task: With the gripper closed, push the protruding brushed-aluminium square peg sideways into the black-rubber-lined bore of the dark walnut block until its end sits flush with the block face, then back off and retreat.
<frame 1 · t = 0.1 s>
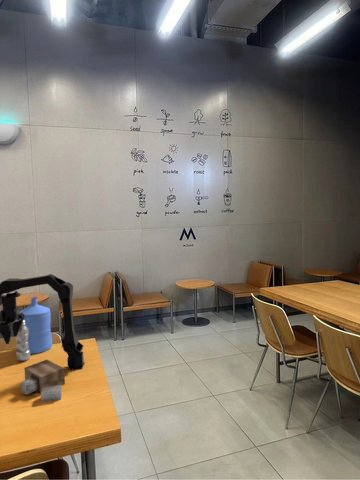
hand: (11, 340, 152), 15 cm above the table, fingers open, 9 cm apart
peg: (32, 384, 134), point 3 cm above the table, slide at 5.0 cm
plastic bottle: (23, 360, 165), on the table
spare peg: (51, 398, 129), on the table
socket block: (45, 383, 140), on the table
water jug: (36, 348, 179), on the table
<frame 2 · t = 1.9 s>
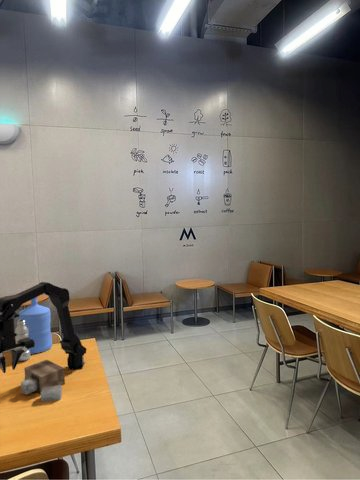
hand: (9, 371, 126), 12 cm above the table, fingers open, 3 cm apart
nothing on the table moved.
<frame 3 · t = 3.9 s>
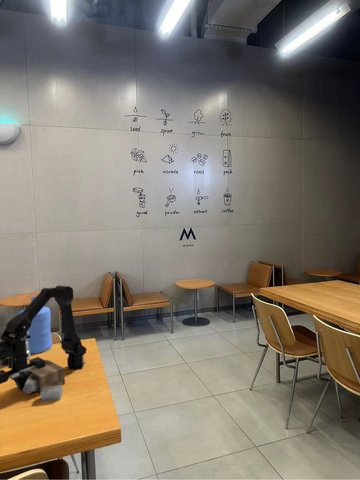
hand: (20, 390, 130), 2 cm above the table, fingers closed
peg: (33, 384, 134), point 3 cm above the table, slide at 4.4 cm, touching gripper
everything else where it was.
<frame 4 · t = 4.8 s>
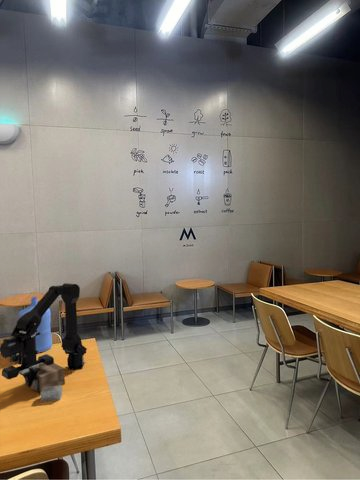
hand: (29, 386, 133), 3 cm above the table, fingers closed
peg: (41, 380, 137), point 3 cm above the table, slide at 1.0 cm
everything else where it was.
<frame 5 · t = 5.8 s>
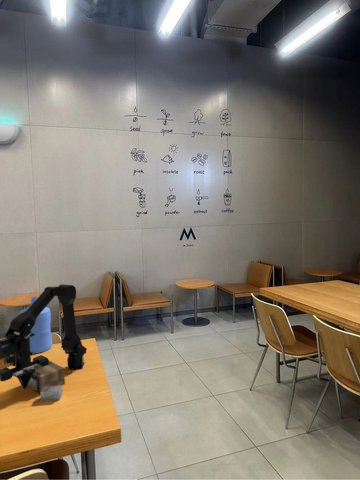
hand: (24, 388, 131), 3 cm above the table, fingers closed
nothing on the table moved.
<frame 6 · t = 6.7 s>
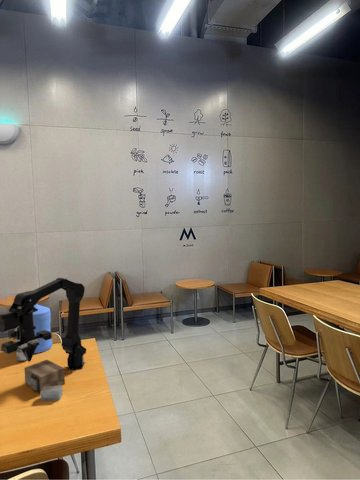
hand: (29, 361, 136), 11 cm above the table, fingers closed
nothing on the table moved.
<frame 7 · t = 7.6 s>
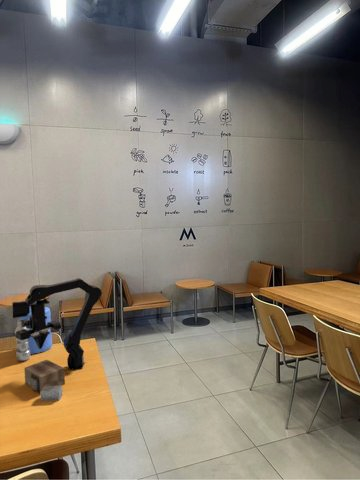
hand: (40, 348, 148), 12 cm above the table, fingers closed
nothing on the table moved.
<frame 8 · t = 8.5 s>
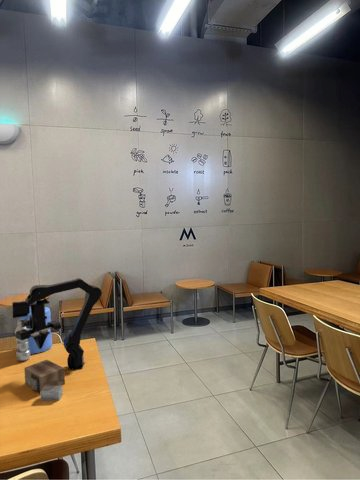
hand: (40, 348, 148), 12 cm above the table, fingers closed
nothing on the table moved.
at the end: peg slide at 1.0 cm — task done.
